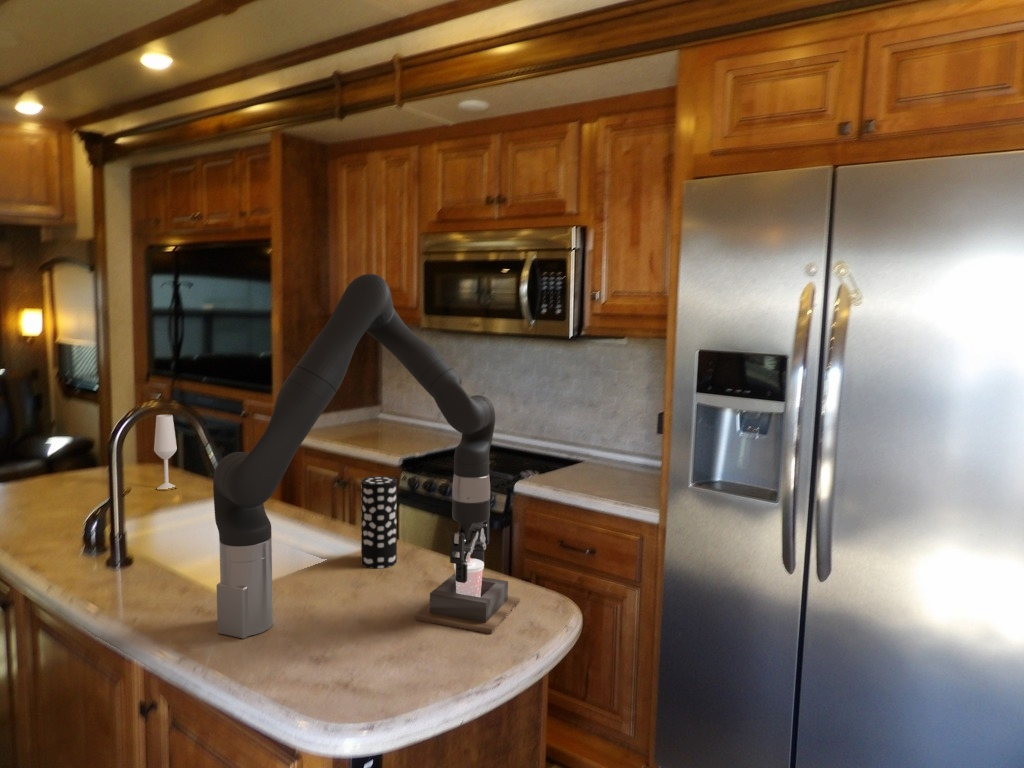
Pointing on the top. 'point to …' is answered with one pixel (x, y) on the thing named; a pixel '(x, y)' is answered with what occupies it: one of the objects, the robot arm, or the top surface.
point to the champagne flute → (165, 443)
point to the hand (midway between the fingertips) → (470, 574)
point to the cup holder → (469, 606)
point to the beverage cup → (471, 578)
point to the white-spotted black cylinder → (378, 522)
